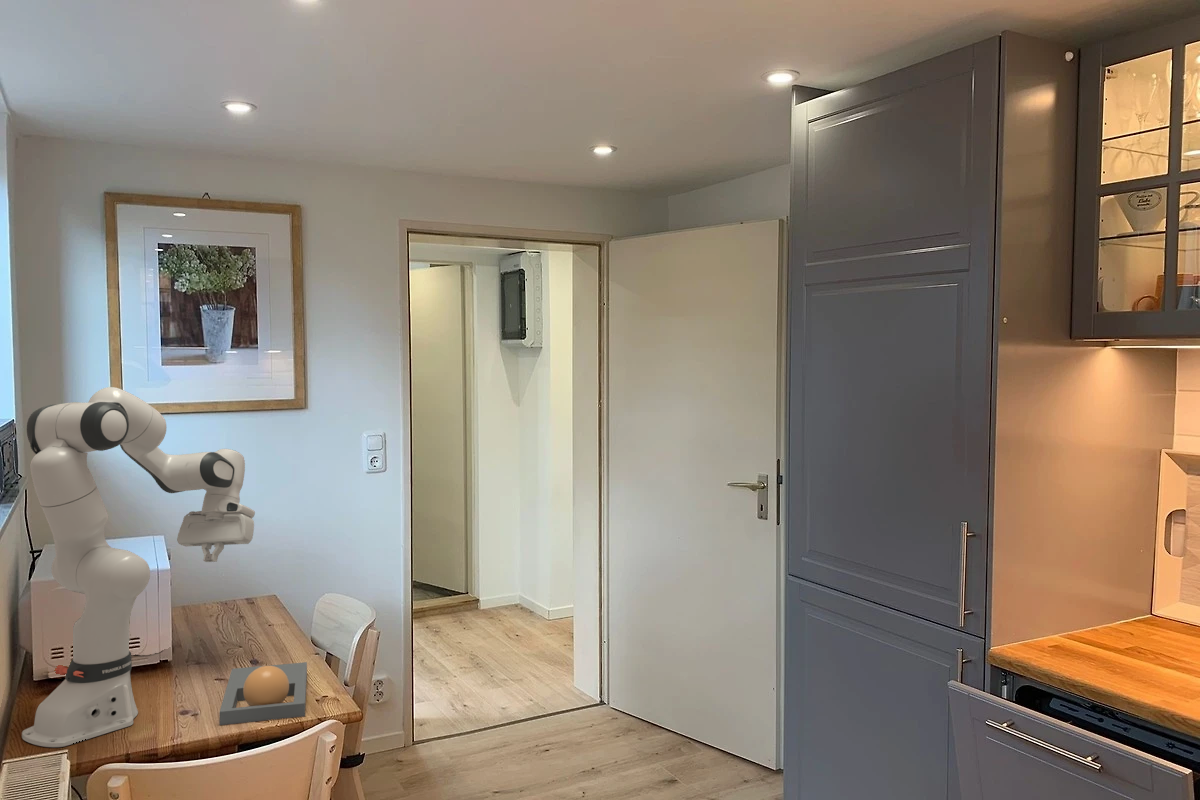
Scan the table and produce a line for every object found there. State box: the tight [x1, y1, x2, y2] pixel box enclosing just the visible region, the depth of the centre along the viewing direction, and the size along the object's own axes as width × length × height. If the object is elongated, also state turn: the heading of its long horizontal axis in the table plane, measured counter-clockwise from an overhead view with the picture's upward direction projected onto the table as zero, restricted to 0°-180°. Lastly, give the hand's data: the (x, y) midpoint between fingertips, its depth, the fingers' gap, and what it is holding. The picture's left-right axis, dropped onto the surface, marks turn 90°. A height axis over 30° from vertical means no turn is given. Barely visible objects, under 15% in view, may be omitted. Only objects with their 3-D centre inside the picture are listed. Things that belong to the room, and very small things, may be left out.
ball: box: [243, 665, 289, 706], centre depth 203 cm, size 10×10×10 cm
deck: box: [218, 661, 308, 726], centre depth 211 cm, size 29×18×3 cm, turn 18°
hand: (209, 561), depth 227 cm, fingers closed
